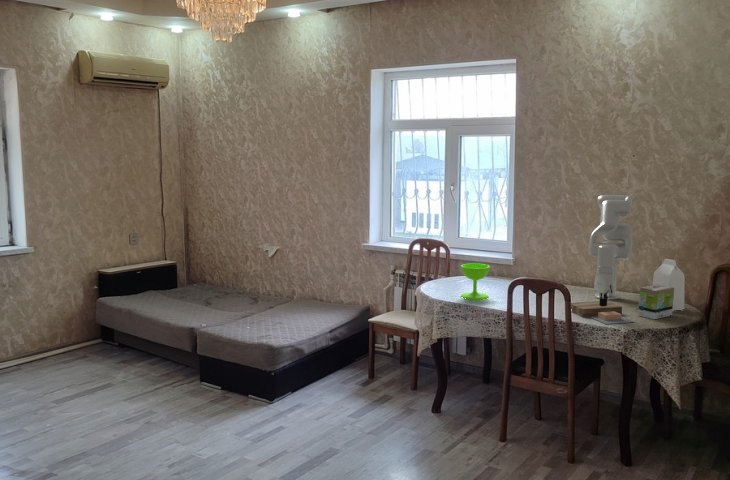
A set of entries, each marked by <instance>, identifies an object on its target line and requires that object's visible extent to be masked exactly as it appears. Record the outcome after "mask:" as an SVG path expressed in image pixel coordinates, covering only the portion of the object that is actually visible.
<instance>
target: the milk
mask: <svg viewBox="0 0 730 480" xmlns="http://www.w3.org/2000/svg"><path fill="white" fill-rule="evenodd" d="M652 277H653V278H652V285H662V286H668V287H673V288H674V298H673V309H672V312H675V311H674V310H681V311H683V310H682V309H684V310H685V287H686V286H685V280H686V279H685V277H686V276H685V273H684V272H683V271H682V270H681V269H680V267H678V265H677V261H676V260H675V259H670V258H664V259H663V262H662V263H661V265H660V266H659V267H657V269H655V271H654V272H653V275H652ZM652 285H651V286H652Z"/></svg>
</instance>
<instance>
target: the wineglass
mask: <svg viewBox="0 0 730 480" xmlns="http://www.w3.org/2000/svg"><path fill="white" fill-rule="evenodd" d="M460 268H461V271H462V274H463V275H464V277H465V278H467V279H469V280H471V281H472V280H473V281H472V283H473V285H472V286H473V288H472V292H465V293H462V294H461V295H460V298H461V297H463V298H466V299H471V300H470V301H473V300H481V301H483V300H482V299H487V298H489V299H490V297H489V295H488V294H485V293H481V292H478V289H477V287H478V285H477V283H478V281H479V280H482V279H484V278H485V277H486V276H487V275H488V274H489V271H490V268H491V266H490V265H489V264H485V263H464V264H461V265H460ZM487 300H488V299H487Z"/></svg>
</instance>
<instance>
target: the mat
mask: <svg viewBox="0 0 730 480" xmlns="http://www.w3.org/2000/svg"><path fill="white" fill-rule="evenodd" d="M589 318H590V319H593V320H595V321H597V322H599V323H601V324H604V325H607V326H608V325H618V324H619V323H621V324H631V323H630V322H635V323H636V321H635V320H632V319H630V318H626V317H625V316H622V315H621V319H618V320H603V319H601V318H598V316H590V317H589Z"/></svg>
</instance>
